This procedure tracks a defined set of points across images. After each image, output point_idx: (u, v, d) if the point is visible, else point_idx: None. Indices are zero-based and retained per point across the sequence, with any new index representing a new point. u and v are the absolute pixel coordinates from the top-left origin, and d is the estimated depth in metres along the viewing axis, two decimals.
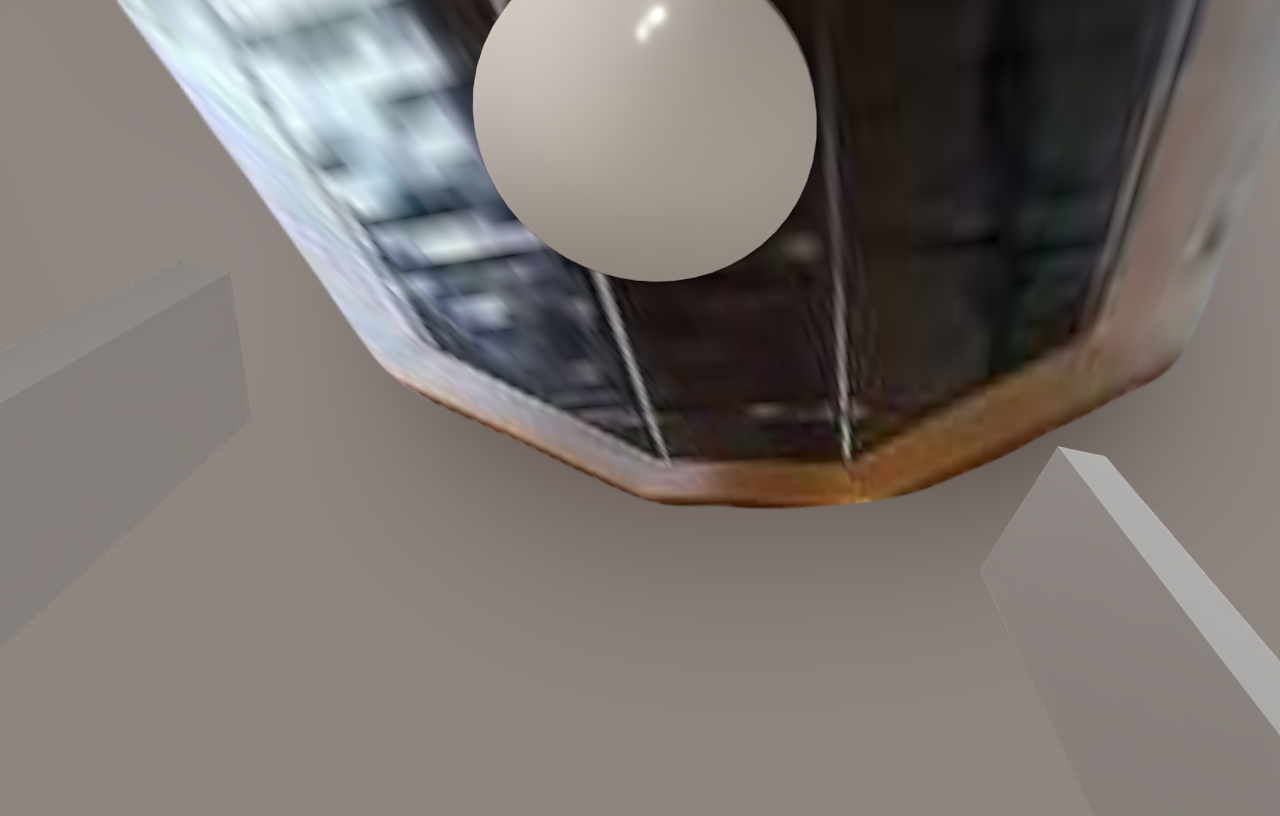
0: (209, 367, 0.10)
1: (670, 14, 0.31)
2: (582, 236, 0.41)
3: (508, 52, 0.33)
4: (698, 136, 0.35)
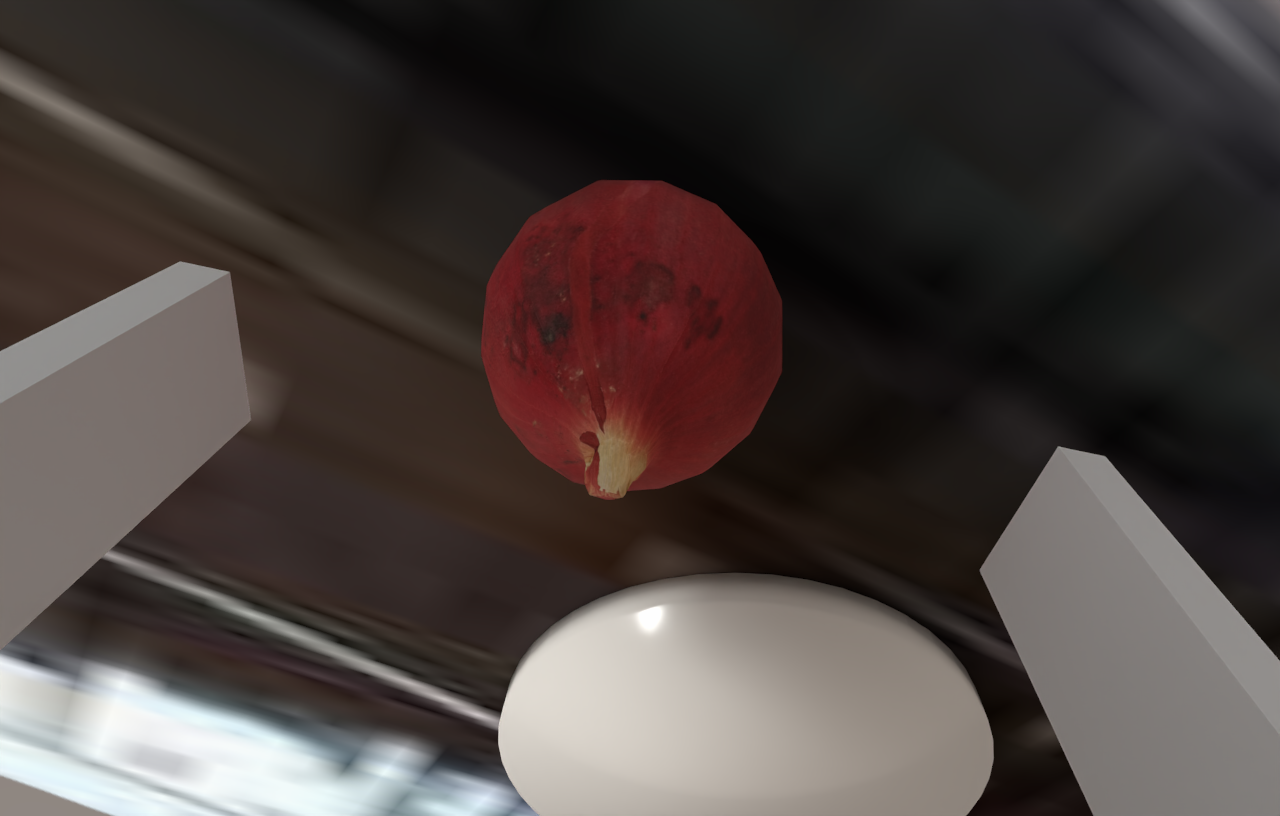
0: (209, 367, 0.10)
1: (646, 665, 0.22)
2: None
3: (534, 771, 0.26)
4: (790, 731, 0.24)
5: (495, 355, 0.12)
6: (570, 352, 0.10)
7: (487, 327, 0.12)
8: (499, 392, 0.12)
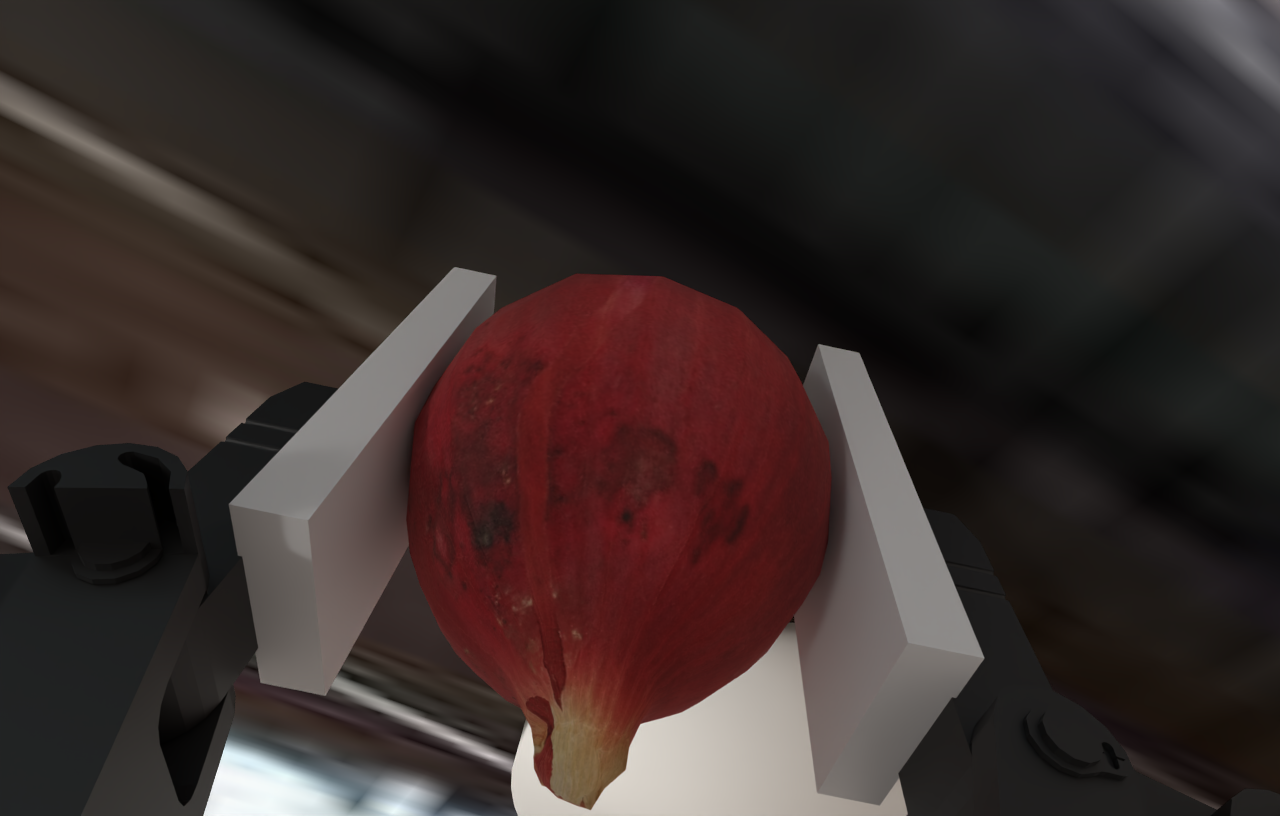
0: None
1: None
2: None
3: None
4: (812, 784, 0.23)
5: (418, 534, 0.08)
6: (513, 567, 0.07)
7: (411, 487, 0.08)
8: (422, 589, 0.08)
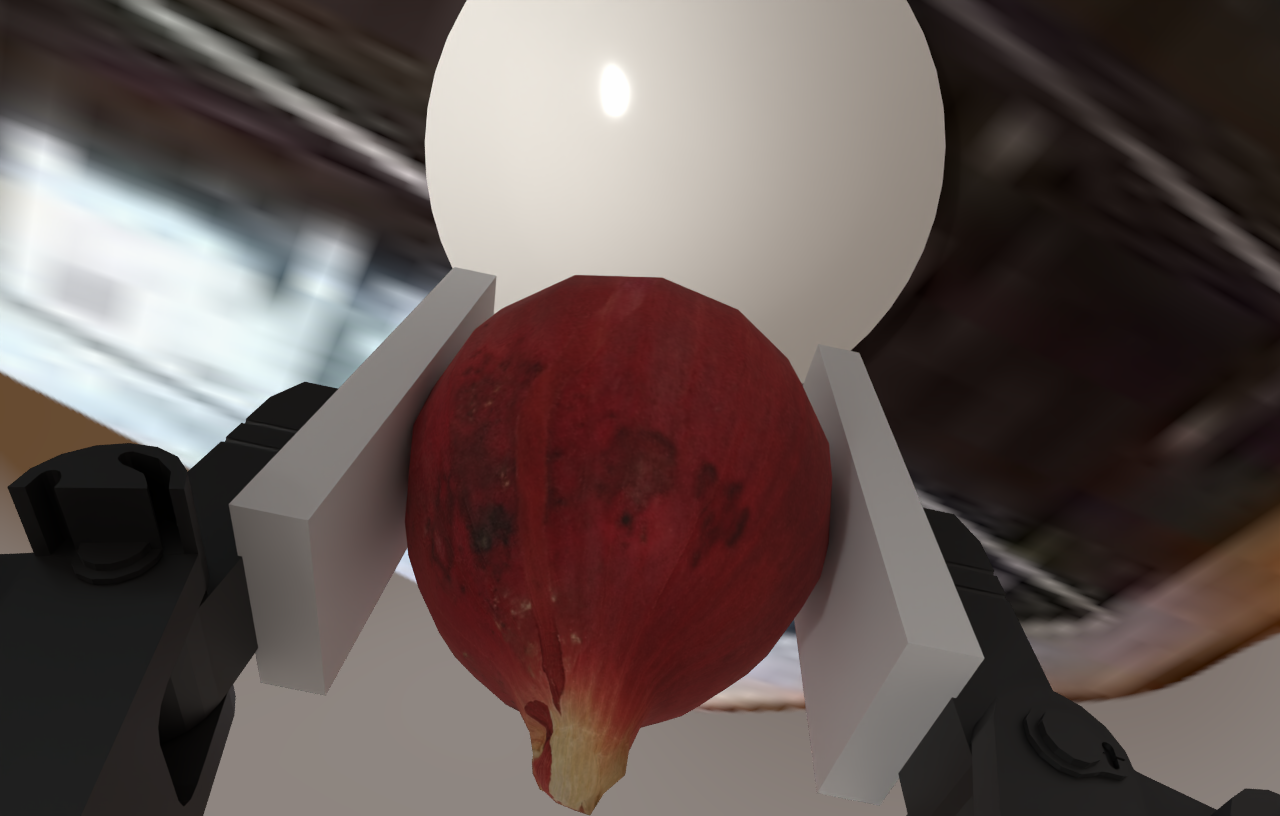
0: None
1: (572, 10, 0.21)
2: None
3: (466, 225, 0.25)
4: (728, 117, 0.22)
5: (415, 536, 0.08)
6: (511, 570, 0.07)
7: (409, 490, 0.08)
8: None
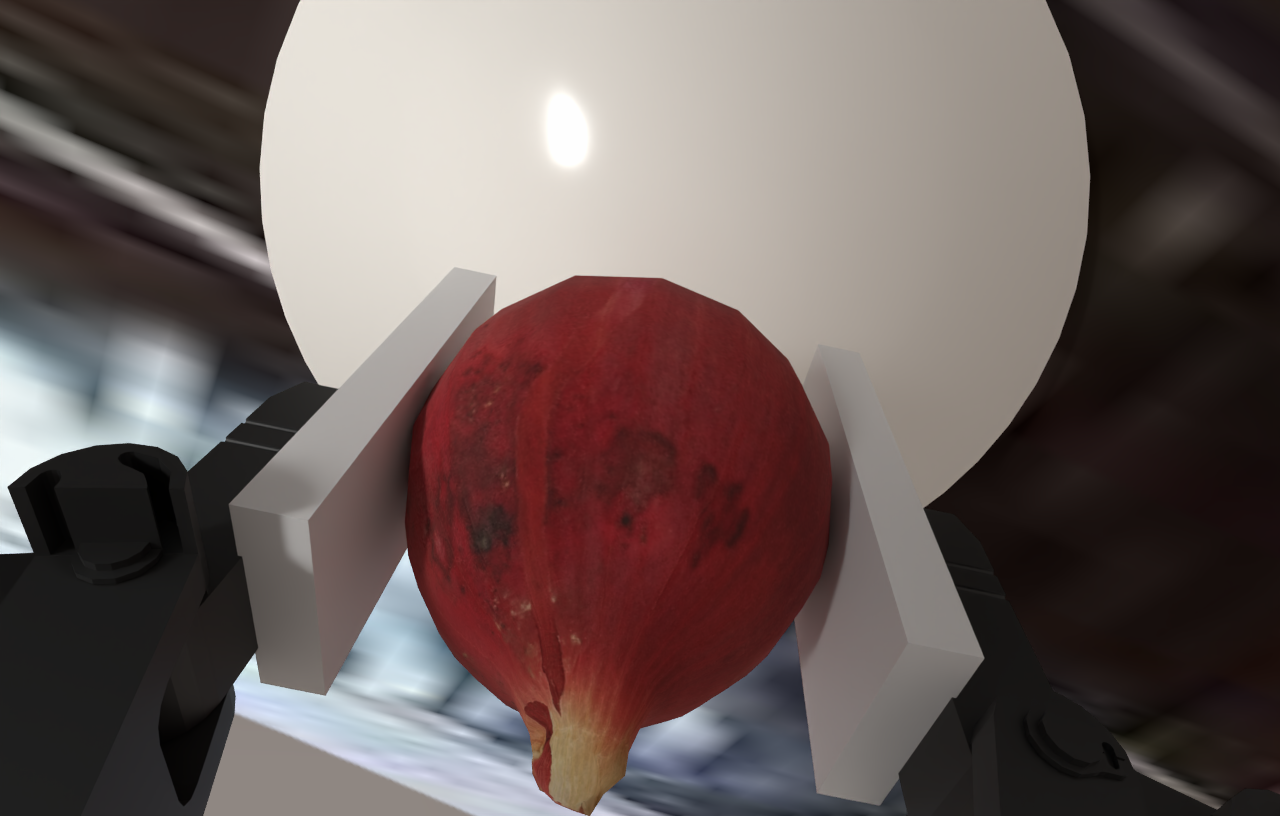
0: None
1: (476, 15, 0.13)
2: None
3: (338, 338, 0.17)
4: (736, 187, 0.14)
5: (415, 537, 0.08)
6: (511, 571, 0.07)
7: (409, 491, 0.08)
8: (420, 592, 0.08)
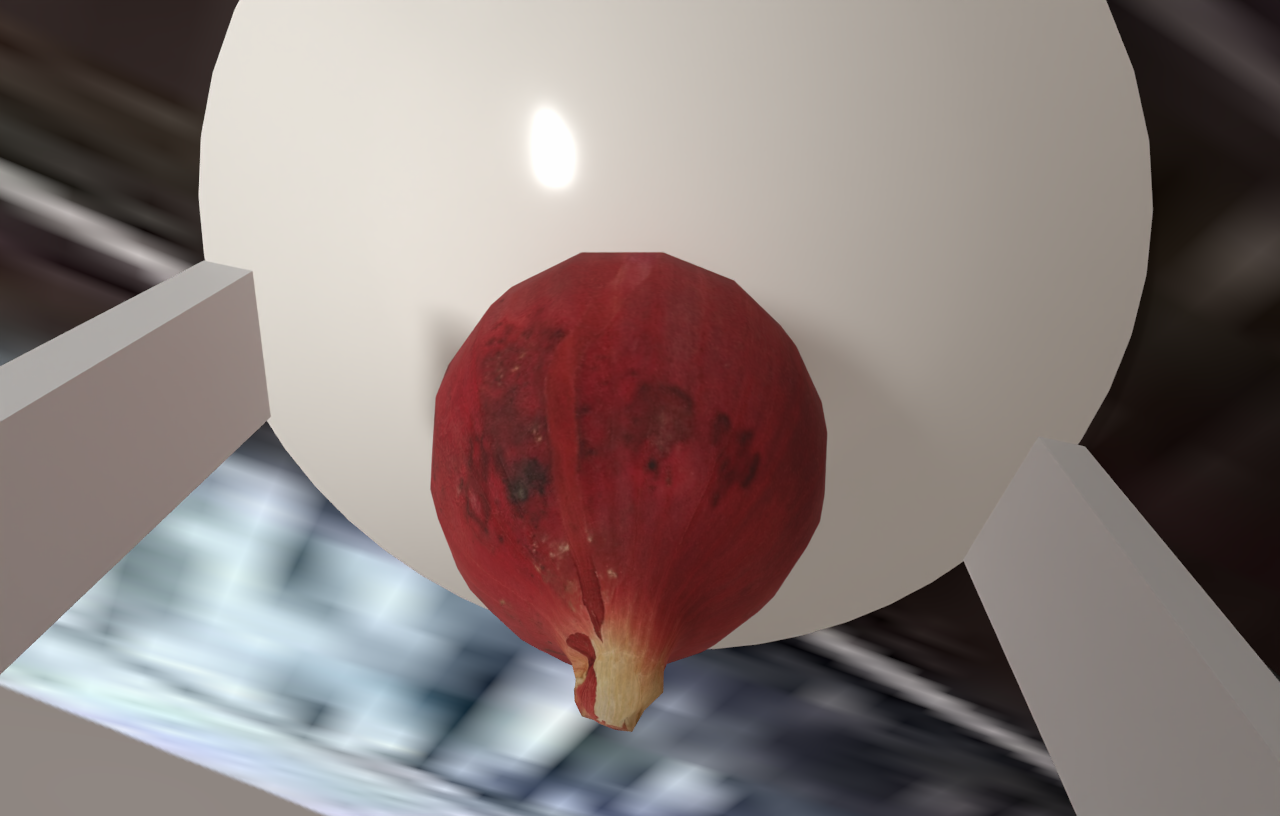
0: (232, 365, 0.10)
1: (440, 23, 0.11)
2: None
3: (294, 383, 0.15)
4: (742, 220, 0.12)
5: (446, 499, 0.09)
6: (548, 517, 0.07)
7: (436, 457, 0.09)
8: (453, 550, 0.09)
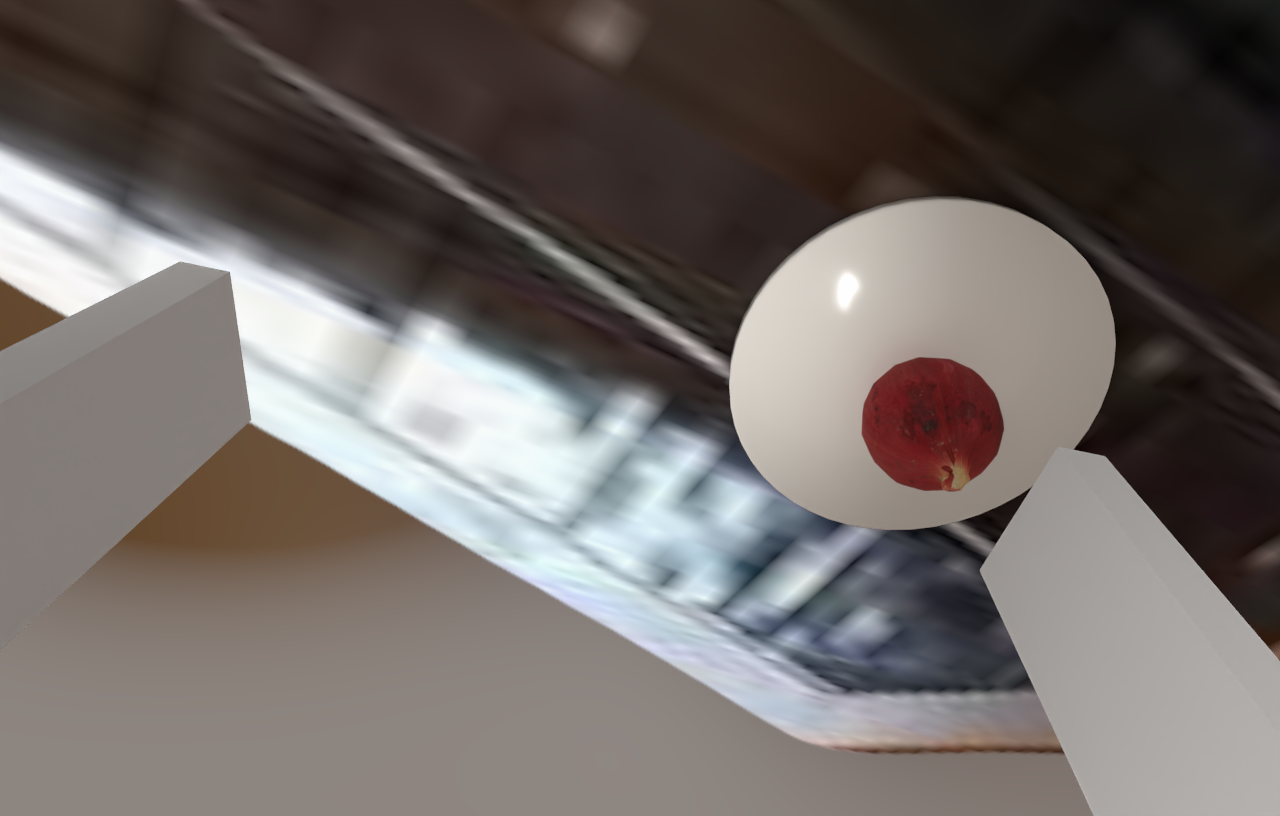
0: (209, 367, 0.10)
1: (863, 272, 0.31)
2: (913, 500, 0.37)
3: (752, 397, 0.35)
4: (961, 340, 0.32)
5: (889, 432, 0.29)
6: (937, 435, 0.27)
7: (882, 420, 0.29)
8: (891, 447, 0.29)
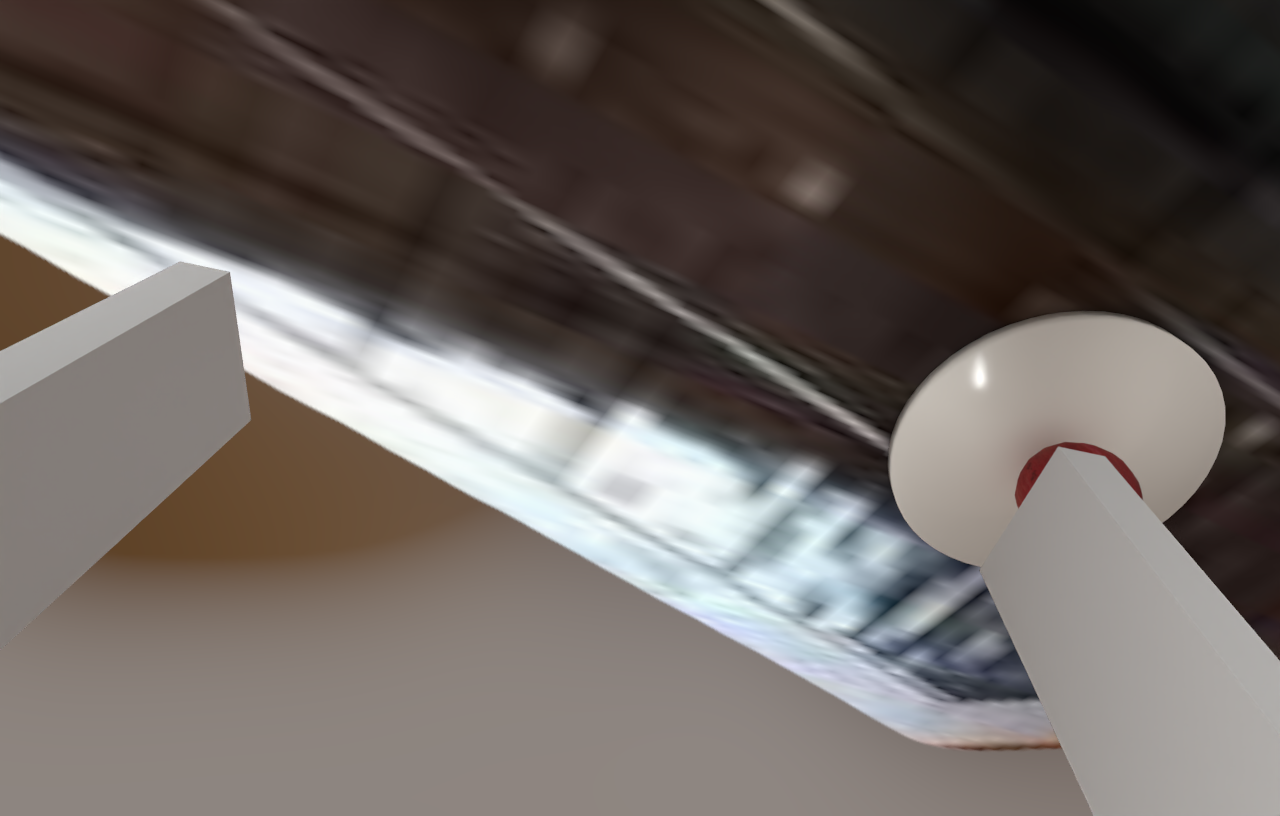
0: (209, 367, 0.10)
1: (1018, 372, 0.37)
2: None
3: (911, 469, 0.41)
4: (1095, 423, 0.39)
5: None
6: None
7: None
8: None
